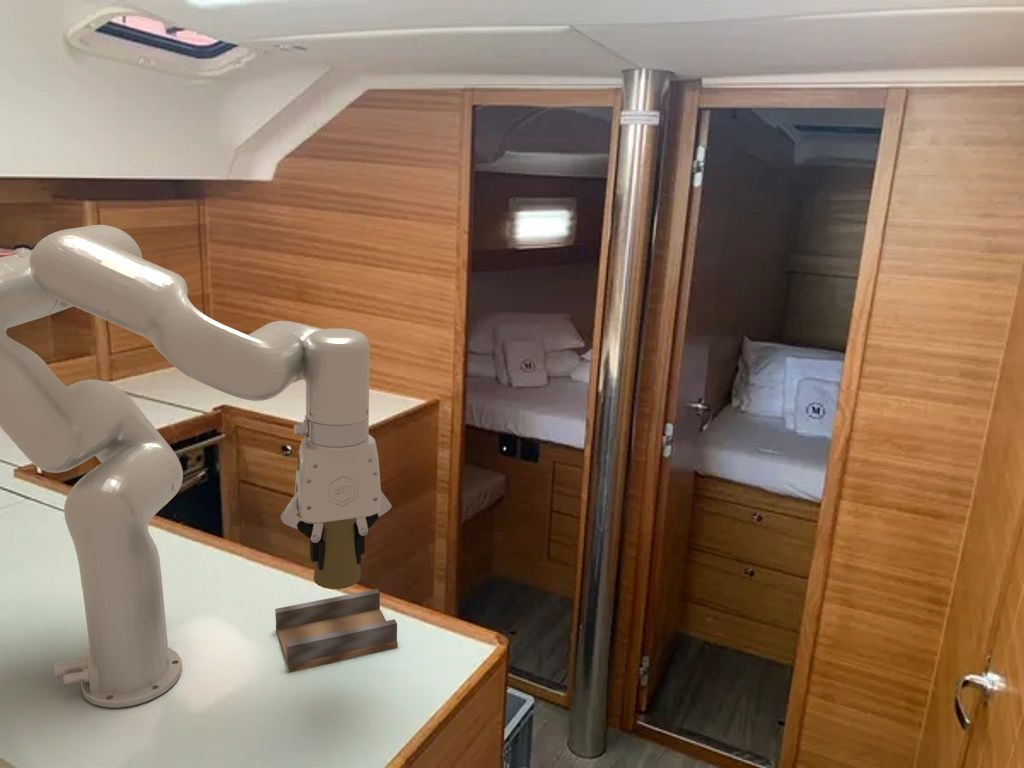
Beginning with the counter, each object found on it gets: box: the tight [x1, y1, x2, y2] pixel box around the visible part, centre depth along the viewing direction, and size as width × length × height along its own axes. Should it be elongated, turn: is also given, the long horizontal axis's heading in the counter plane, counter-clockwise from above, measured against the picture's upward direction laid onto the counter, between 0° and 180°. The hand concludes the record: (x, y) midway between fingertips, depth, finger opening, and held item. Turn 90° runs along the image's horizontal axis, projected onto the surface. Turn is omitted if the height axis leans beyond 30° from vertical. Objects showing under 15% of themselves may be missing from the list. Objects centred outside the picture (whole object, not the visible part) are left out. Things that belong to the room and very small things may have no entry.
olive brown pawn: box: [313, 519, 362, 590], centre depth 103 cm, size 6×6×11 cm
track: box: [274, 588, 399, 673], centre depth 121 cm, size 16×11×4 cm
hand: (337, 560), depth 104 cm, fingers closed on olive brown pawn, 4 cm apart
